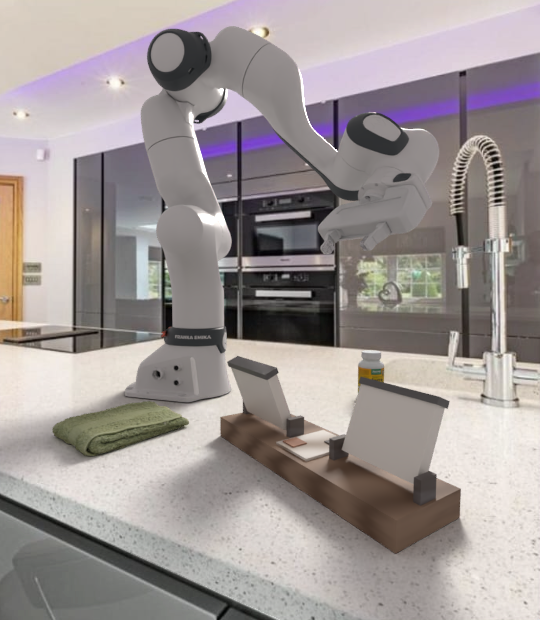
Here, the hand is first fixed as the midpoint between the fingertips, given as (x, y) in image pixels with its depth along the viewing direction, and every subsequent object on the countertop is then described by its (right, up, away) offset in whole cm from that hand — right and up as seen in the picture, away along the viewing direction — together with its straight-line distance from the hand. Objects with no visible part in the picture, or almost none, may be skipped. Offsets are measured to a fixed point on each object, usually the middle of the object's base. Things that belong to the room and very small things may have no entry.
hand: (343, 249), depth 68 cm
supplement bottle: (+9, -29, +17) cm, 35 cm away
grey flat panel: (-1, -28, -25) cm, 37 cm away
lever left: (-12, -27, -8) cm, 31 cm away
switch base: (-7, -30, -16) cm, 35 cm away
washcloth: (-36, -30, -3) cm, 47 cm away
